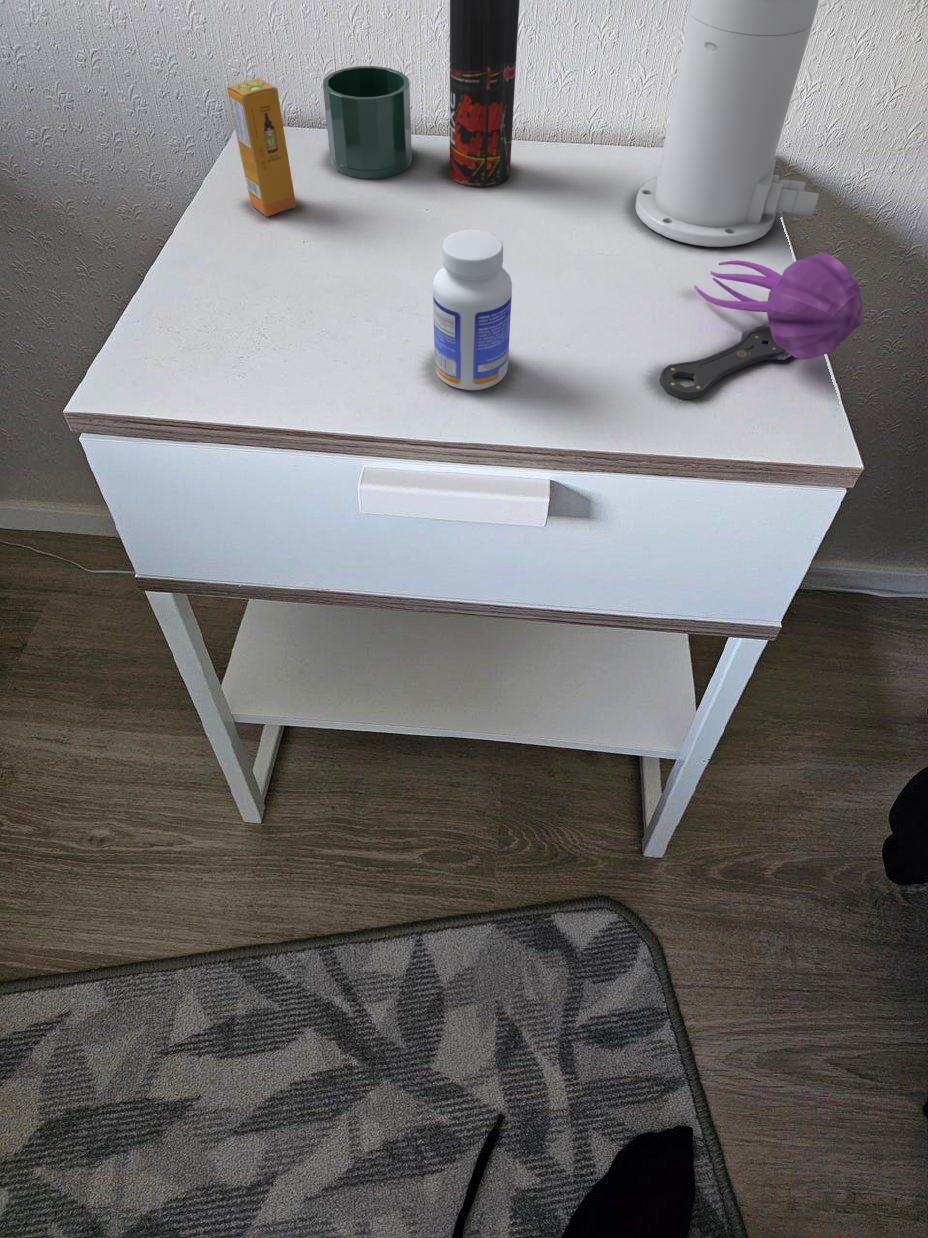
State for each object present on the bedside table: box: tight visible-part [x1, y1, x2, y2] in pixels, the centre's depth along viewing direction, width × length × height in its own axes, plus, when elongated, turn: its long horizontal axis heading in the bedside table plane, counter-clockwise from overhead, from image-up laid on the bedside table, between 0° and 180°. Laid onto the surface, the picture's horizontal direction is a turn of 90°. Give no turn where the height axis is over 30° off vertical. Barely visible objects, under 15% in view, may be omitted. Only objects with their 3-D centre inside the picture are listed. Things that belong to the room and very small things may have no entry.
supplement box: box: [226, 77, 297, 218], centre depth 74 cm, size 3×3×10 cm
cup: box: [322, 65, 413, 180], centre depth 81 cm, size 8×8×7 cm
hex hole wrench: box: [659, 323, 792, 400], centre depth 65 cm, size 4×20×1 cm, turn 125°
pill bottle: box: [432, 229, 513, 391], centre depth 59 cm, size 5×5×10 cm
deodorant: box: [449, 0, 520, 188], centre depth 77 cm, size 6×6×15 cm
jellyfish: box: [693, 252, 863, 360], centre depth 63 cm, size 7×7×15 cm
